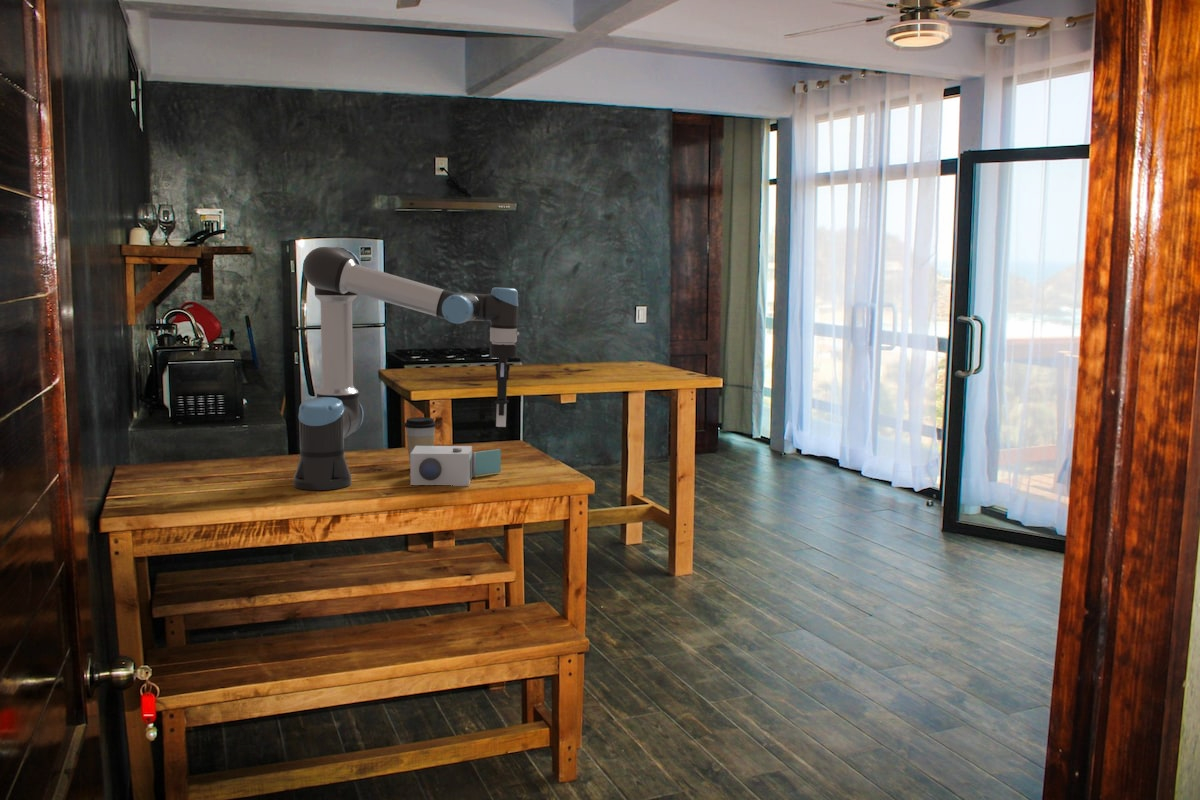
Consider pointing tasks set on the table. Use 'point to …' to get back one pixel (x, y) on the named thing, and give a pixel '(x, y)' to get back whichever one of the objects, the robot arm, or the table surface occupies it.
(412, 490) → the table surface
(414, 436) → the coffee cup
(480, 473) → the side door
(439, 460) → the cabinet body
